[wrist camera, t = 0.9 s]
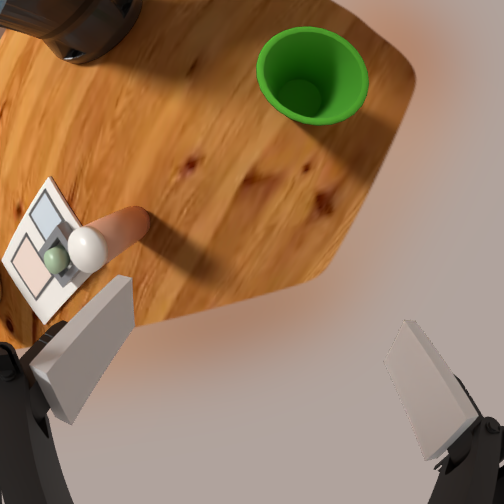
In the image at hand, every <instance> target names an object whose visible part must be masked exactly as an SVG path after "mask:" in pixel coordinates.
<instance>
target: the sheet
mask: <svg viewBox="0 0 504 504" xmlns="http://www.w3.org/2000/svg"><path fill="white" fill-rule="evenodd" d="M66 221H67V222H68V224H69V225H70V227H71V228H72V230H73V231H74V230H76V229H78V228H80V227H82V225H81V224H80V222H79V221H78V219H77V218H76V216H75V215H74V213H73V211H72V210H71V208H70V207H69V205H68V204H67V202H66V200H65V199H64V197H63V196H62V194H61V192H60V191H59V189H58V187H57V186H56V184H55V182H54V180H53V179H52V177H51V176H50V177H48V178H47V180H46V181H45V183H44V184H43V186H42V187H41V189H40V190H39V192H38V193H37V195H36V197H35V198H34V200H33V201H32V203H31V205H30V206H29V208H28V210H27V212H26V213H25V215H24V217H23V219H22V220H21V222H20V224H19V226H18V228H17V230H16V232H15V233H14V235H13V237H12V239H11V241H10V243H9V245H8V248H7V250H6V252H5V254H4V256H3V258H2V263H3V264H4V266H5V268H6V269H7V271H8V273H9V274H10V276H11V278H12V279H13V281H14V283H15V284H16V286H17V287H18V289H19V290H20V292H21V293H22V295H23V296H24V298H25V299H26V301H27V302H28V304H29V305H30V306H31V308H32V309H33V311H34V312H35V313H36V315H37V316H38V317H39V319H40V320H41V321H42V323H43V324H44V325H45V324H46V323H47V322H48V321H49V320H50V318H51V317H52V316H53V315H54V314H55V313H56V312H57V311H58V309H59V308H60V307H61V306H62V305H63V304H64V303H65V302H66V301H67V300H68V298H69V297H70V296H71V295H72V294H73V293H74V292H75V291H76V290H77V289H78V288H79V287H80V286H81V285H82V284H83V283H84V282H85V281H86V280H87V278H88V277H89V276H90V275H91V274H92V273H85V272H83V271H81V272H80V273H79V274H78V275H77V276H76V277H75V278H74V279H73V280H72V281H71V282H70V283H69V284H68V285H66V286H65V287H64V288H62V286H61V285H60V284H59V282H58V281H57V279H56V278H55V276H54V275H53V274H52V273H51V272H49V271H48V269H47V268H46V266H45V263H44V260H43V259H42V257H41V256H40V254H39V253H38V252H39V250H40V249H41V247H42V246H43V244H44V243H45V241H46V240H47V238H48V237H49V236H50V234H51V233H52V231H53V230H54V229H55V227H56V226H57V225H59V224H61V223H63V222H66ZM58 245H62V246H63V244H62V243H61V241H60V242H59V243H58ZM63 247H64V246H63ZM73 264H74V263H73V262H72V260H71V258H70V264H69V266H68V267H67V268H68V270H69V269H70V267H71V266H72V265H73Z"/></svg>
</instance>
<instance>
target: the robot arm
mask: <svg viewBox="0 0 504 504" xmlns="http://www.w3.org/2000/svg"><path fill="white" fill-rule="evenodd" d="M141 6H142V0H0V27H2V28H6V29H10V30H14V31H17V32H21V33H24V34H27V35H30V36H33V37H36V38H39V39H42V40H43V41H44V42H45V43H46V45H47V46H48V47H49V48H50V49H51V50H52V51H53V53H54V54H55V55H56V56H57V57H58V58H60V59H62V60H64V61H67V62H70V63H73V64H82V63H86V62H90V61H92V60H95V59H97V58H98V57H100V56H102V55H104V54H105V53H107V52H108V51H109V50H111V49H112V48H113V47H114V46H115V45H117V44H118V43H119V42H120V41H121V40H122V39H123V38H124V37H125V35H126V34H127V33H128V32H129V31H130V29H131V28H132V26H133V25H134V23H135V22H136V20H137V18H138V16H139V13H140V10H141ZM134 327H135V323H134V309H133V291H132V278H130V277H126V276H121V275H117V276H116V277H115V278H114V279H113V280H112V281H110V282H109V283H108V284H107V285H106V286H105V287H104V288H103V289H102V290H101V291H100V292H99V293H98V294H97V295H96V296H95V297H93V298H92V299H91V300H90V301H89V302H88V303H87V304H86V305H85V306H84V307H83V308H82V309H81V310H80V311H79V312H78V313H77V314H76V315H75V316H74V317H73V318H72V319H71V320H70V321H69V322H66V321H64V320H62V321H60V322H58V323H56V324H54V325H52V326H51V327H50V328H49V329H48V330H47V331H46V332H45V335H44V334H43V335H42V336H41V337H40V338H39V341H38V340H37V341H36V342H35V343H34V345H33V346H32V347H31V348H30V349H29V350H28V351H27V352H26V353H25V354H24V355H23V356H22V357H21V358H20V359H18V356H17V354H16V351H15V349H14V347H13V346H12V345H11V344H9V343H7V342H0V504H2V495H3V499H4V502H5V504H74V503H73V501H72V498H71V496H70V493H69V490H68V488H67V485H66V482H65V479H64V476H63V473H62V470H61V467H60V463H59V460H58V457H57V453H56V450H55V445H54V441H53V437H52V433H51V428H50V423H49V419H48V416H47V414H46V413H47V412H48V410H49V409H50V408H51V410H52V412H53V413H54V415H55V417H57V418H58V419H60V420H62V421H64V422H66V423H68V424H70V425H72V424H73V422H74V421H75V419H76V417H77V415H78V414H79V412H80V410H81V409H82V407H83V405H84V404H85V402H86V400H87V399H88V397H89V396H90V394H91V392H92V391H93V389H94V388H95V386H96V384H97V383H98V381H99V380H100V378H101V376H102V375H103V373H104V371H105V370H106V369H107V367H108V365H109V364H110V363H111V361H112V359H113V358H114V356H115V355H116V353H117V352H118V350H119V349H120V347H121V346H122V344H123V343H124V341H125V340H126V338H127V337H128V336H129V334H130V332H131V331H132V330H133V328H134ZM384 364H385V366H386V369H387V371H388V373H389V375H390V377H391V379H392V382H393V384H394V386H395V388H396V390H397V393H398V395H399V397H400V399H401V402H402V404H403V407H404V409H405V411H406V414H407V416H408V419H409V421H410V423H411V426H412V428H413V431H414V433H415V436H416V439H417V441H418V443H419V446H420V449H421V452H422V454H423V457H424V459H425V461H428V460H432V459H435V458H438V457H439V456H440V455H441V454H443V453H444V452H445V451H446V450H448V453H449V454H448V455H447V456H446V457H445V458H444V459H443V460H442V461H440V462H439V463H438V464H437V465H436V466H435V468H434V470H436V469H437V468H438V467H439V466H440V465H442V467H441V468H440V469H439V470H438V471H439V472H440V473H439V476H438V479H437V482H436V484H435V487H434V490H433V492H432V495H431V498H430V499H429V502H428V504H504V465H503V466H502V467H501V468H500V467H499V463H500V462H501V461H503V460H504V426H500V424H499V423H498V422H497V420H495V419H494V418H492V417H485V418H484V417H483V416H482V414H481V412H480V411H479V409H478V407H477V406H476V404H475V403H474V401H473V399H472V397H471V396H469V393H468V391H467V389H466V390H465V386H464V385H463V383H462V382H461V380H460V379H459V378H458V377H456V376H455V375H454V374H453V373H452V372H451V370H450V369H449V367H448V366H447V364H446V363H445V362H444V360H443V358H442V357H441V355H440V354H439V353H438V351H437V350H436V348H435V347H434V346H433V344H432V343H431V341H430V340H429V339H428V337H427V336H426V334H425V333H424V332H423V331H422V329H421V328H420V326H419V325H418V324H417V322H416V321H410V320H404V321H403V324H402V326H401V328H400V330H399V332H398V334H397V336H396V339H395V340H394V342H393V345H392V346H391V348H390V350H389V352H388V354H387V356H386V358H385V360H384ZM1 490H2V492H1Z"/></svg>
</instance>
